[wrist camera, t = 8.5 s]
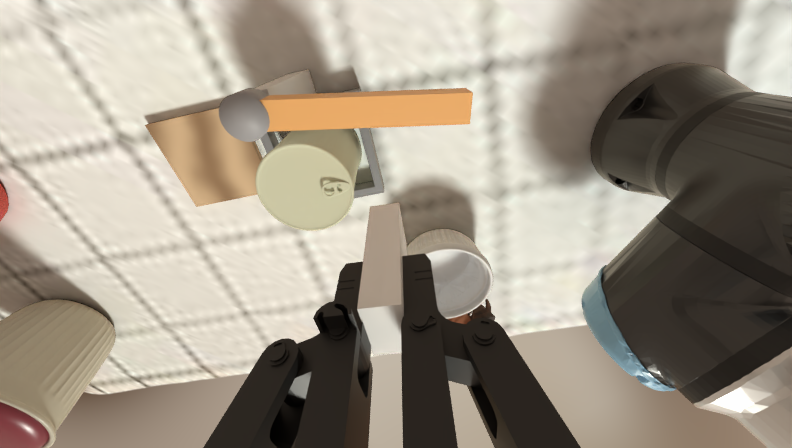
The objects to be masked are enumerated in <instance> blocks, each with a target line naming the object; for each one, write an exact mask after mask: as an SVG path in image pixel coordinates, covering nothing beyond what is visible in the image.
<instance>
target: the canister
mask: <svg viewBox="0 0 792 448" xmlns="http://www.w3.org/2000/svg"><path fill="white" fill-rule="evenodd" d="M115 337H116V334H115V329H114V328H113V325H112V324H111V323H110V321H109V320H107V318H106V317H104V316H103V314H101V313H99V312H98V311H96V310H94V309H93V308H90V307H88V306H86V305H83V304H81V303H76V302H74V301H68V300H60V299H58V300H45V301H40V302H37V303H33V304H31V305H28V306H26V307H24V308H22V309H20V310H18V311H17V312H15V313H13V314H11V315H10V316H8V317H6V318H5V319H3V320H1V321H0V448H49V447H50V446H51V445H52V444H53V443H54V441H55V439H56V431H57V429H58V428H59V426H60V425H61V424H62V422H63V421H64V419H65V418H66V417H67V415H68V414H69V412H70V411H71V409H72V408H73V406H74V405H75V404H76V402H77V401H78V399H79V398H80V396H81V395H82V393H83V392H84V391H85V389H86V388H87V386H88V385H89V383H90V382H91V380H92V379H93V378H94V376H95V375H96V373H97V372H98V370H99V369H100V367H101V365H102V364H103V362H104V361H105V359H106V358H107V356H108V355H109V353H110V351H111V350H112V347H113V345H114V343H115Z"/></svg>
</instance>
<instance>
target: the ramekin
mask: <svg viewBox="0 0 792 448" xmlns="http://www.w3.org/2000/svg"><path fill="white" fill-rule="evenodd" d="M423 253H425V254H426V255H427V257H428V258H429V259H430V260H431V266H432V273H433V280H434V287H435V294H436V301H437V307H438V310H439V312H440V313H441V315H443V316H444V317H445V318H446V319H449V318H454V317H458V316H461V315H464V314H466V313H469V312H471V311H472V310H474V309H475V308H477V307H478V306H479V305H481V304H482V303H483V302H484V301H485V299H486V298H487V297H488V295H489V293H490V291H491V289H492V286H493V273H492V270H491V267H490V265H489V263H488V261H487V259H486V258H485V257H484V256H483V255H482V254H481V253H480V251H479V250H478V248H477V247H476V245H475V244H474V243H473V241H472V240H471V239H470V238H469V237H467V236H466V235H464V234H462V233H460V232H458V231H454V230H450V229H435V230H431V231H428V232H425V233H423V234H421V235H420V236H417V237H416V238H415V239H414V240H413V241H412V242H411V243H410V244H409V245H408V246H407V255H415V254H423Z"/></svg>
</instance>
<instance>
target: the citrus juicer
mask: <svg viewBox="0 0 792 448" xmlns="http://www.w3.org/2000/svg"><path fill="white" fill-rule="evenodd" d="M8 206H9V203H8V197H7V195H6V192H5V190H4V188H3V187H2V185H1V184H0V221H1V220H2V218H3V217H4V215H5V214H6V212H7V211H8Z"/></svg>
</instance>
